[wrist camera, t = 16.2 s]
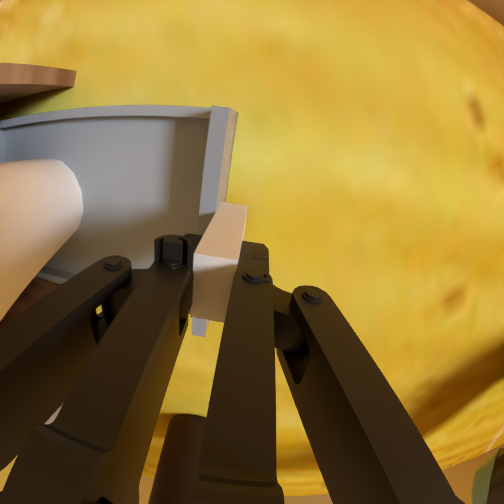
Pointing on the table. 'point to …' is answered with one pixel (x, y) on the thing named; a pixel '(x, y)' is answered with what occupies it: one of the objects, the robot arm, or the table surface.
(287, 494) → the table surface
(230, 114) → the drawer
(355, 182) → the table surface
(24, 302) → the wood grain box
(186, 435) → the bottle
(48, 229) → the foam cup
